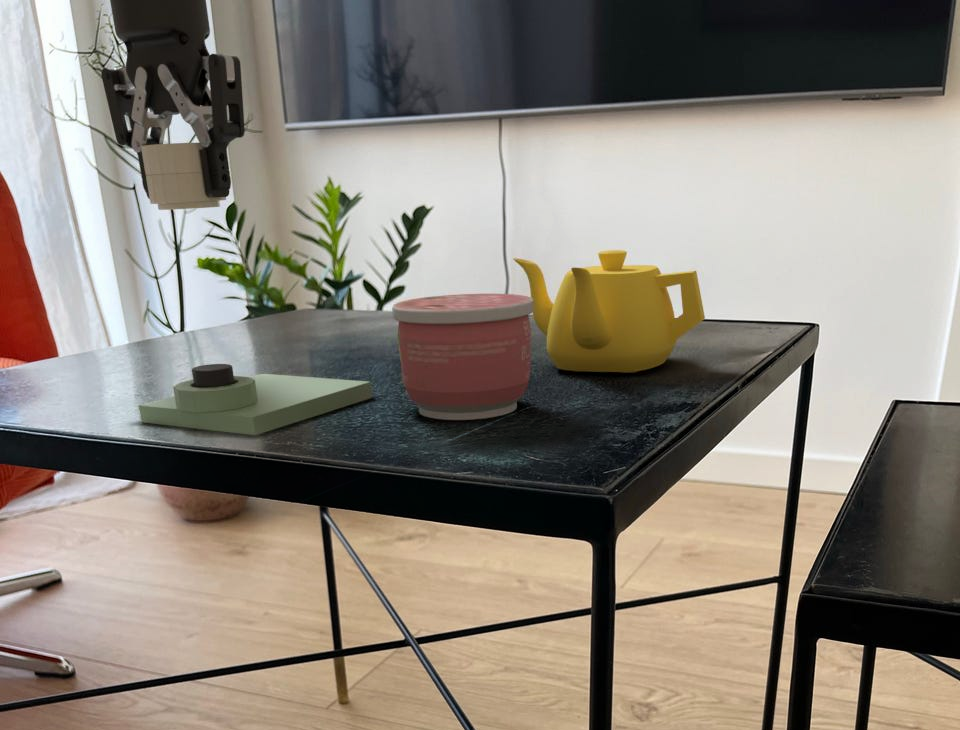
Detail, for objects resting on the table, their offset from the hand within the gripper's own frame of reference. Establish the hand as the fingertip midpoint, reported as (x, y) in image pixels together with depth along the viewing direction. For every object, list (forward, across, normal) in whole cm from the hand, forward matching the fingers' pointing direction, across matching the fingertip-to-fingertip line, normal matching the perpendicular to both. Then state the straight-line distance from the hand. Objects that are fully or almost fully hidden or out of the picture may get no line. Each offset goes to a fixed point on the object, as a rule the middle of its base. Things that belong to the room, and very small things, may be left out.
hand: (188, 197), depth 88 cm
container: (+16, +30, -3) cm, 34 cm away
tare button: (+13, +13, -13) cm, 23 cm away
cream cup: (+1, 0, 0) cm, 1 cm away
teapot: (+16, +32, +17) cm, 39 cm away
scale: (+16, +13, -9) cm, 23 cm away
